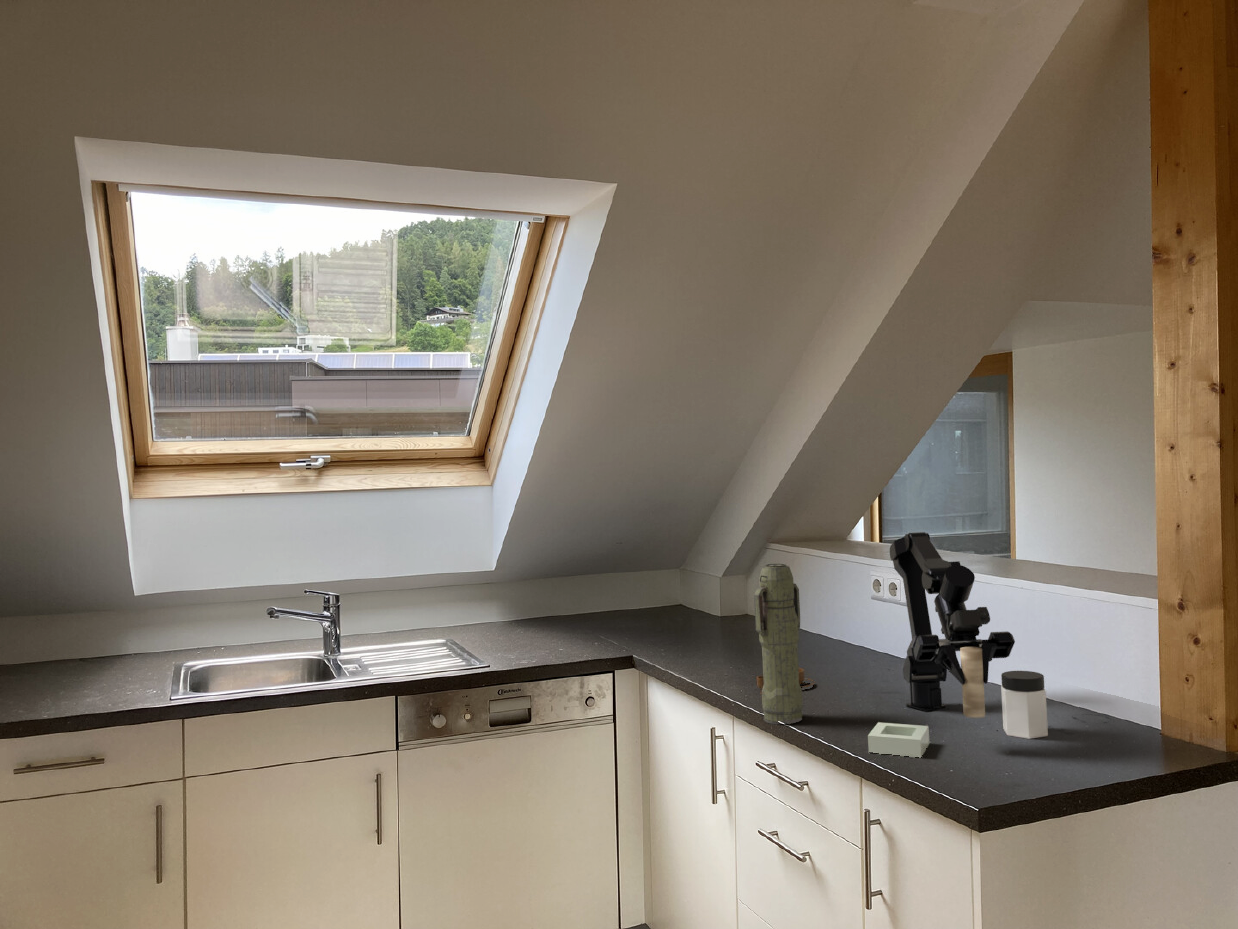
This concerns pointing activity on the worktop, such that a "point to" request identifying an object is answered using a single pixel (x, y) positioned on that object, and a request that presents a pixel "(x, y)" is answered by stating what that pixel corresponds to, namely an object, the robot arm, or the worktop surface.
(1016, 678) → the jar
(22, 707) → the worktop surface
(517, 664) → the worktop surface
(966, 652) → the dowel
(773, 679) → the thermos
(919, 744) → the pale green square holder
